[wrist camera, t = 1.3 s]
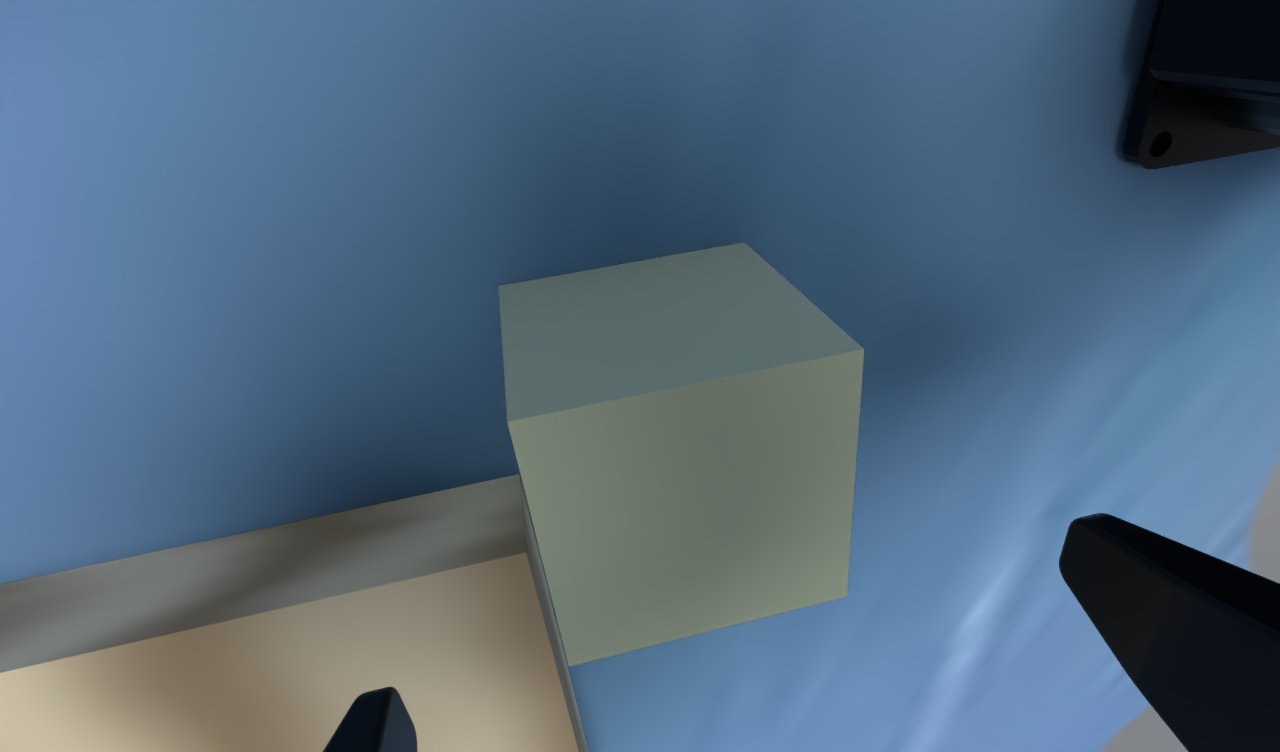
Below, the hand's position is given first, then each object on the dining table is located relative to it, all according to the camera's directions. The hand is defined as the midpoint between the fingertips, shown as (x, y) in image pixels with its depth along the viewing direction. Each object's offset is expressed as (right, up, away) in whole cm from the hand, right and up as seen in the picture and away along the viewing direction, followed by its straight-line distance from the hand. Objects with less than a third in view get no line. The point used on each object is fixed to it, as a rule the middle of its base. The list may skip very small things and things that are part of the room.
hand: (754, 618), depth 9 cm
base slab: (-9, -5, +9) cm, 14 cm away
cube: (-1, +3, +6) cm, 7 cm away
